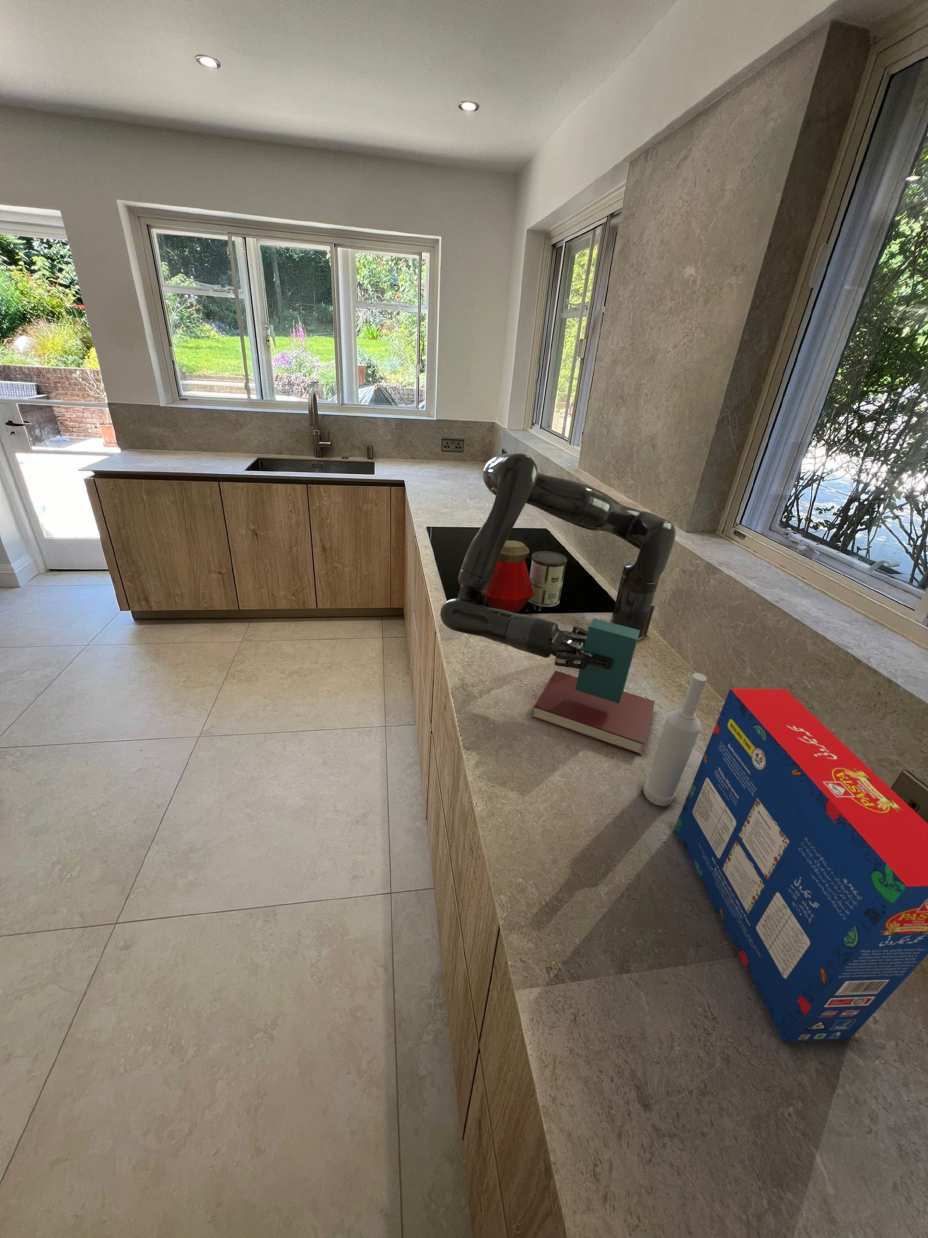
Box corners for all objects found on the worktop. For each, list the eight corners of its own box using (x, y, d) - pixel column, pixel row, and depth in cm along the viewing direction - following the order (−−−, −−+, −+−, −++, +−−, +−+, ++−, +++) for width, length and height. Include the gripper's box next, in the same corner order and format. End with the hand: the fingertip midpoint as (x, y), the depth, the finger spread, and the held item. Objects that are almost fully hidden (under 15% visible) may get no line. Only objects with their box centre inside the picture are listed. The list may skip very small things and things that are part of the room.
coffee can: (539, 589, 159) (545, 548, 152) (566, 600, 153) (573, 558, 146) (519, 598, 152) (525, 555, 145) (546, 610, 146) (554, 566, 139)
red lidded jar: (522, 596, 153) (530, 534, 144) (538, 617, 142) (548, 551, 132) (473, 599, 149) (478, 535, 140) (485, 620, 138) (492, 552, 129)
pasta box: (850, 1039, 56) (991, 884, 42) (783, 1042, 55) (906, 886, 42) (721, 828, 80) (785, 689, 67) (674, 829, 80) (730, 688, 66)
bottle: (673, 789, 87) (716, 671, 75) (674, 811, 83) (720, 690, 71) (642, 780, 88) (680, 664, 77) (642, 801, 84) (682, 682, 72)
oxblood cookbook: (532, 717, 102) (534, 706, 100) (553, 681, 114) (555, 670, 113) (641, 755, 94) (645, 743, 93) (651, 712, 106) (655, 701, 105)
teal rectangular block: (574, 689, 101) (588, 626, 94) (579, 679, 104) (593, 617, 97) (619, 704, 98) (636, 639, 91) (622, 693, 101) (640, 630, 94)
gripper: (522, 634, 95) (611, 660, 89) (544, 605, 107) (625, 627, 101) (517, 666, 99) (602, 693, 93) (539, 635, 110) (617, 657, 104)
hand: (613, 658), depth 97 cm, fingers closed on teal rectangular block, 4 cm apart
